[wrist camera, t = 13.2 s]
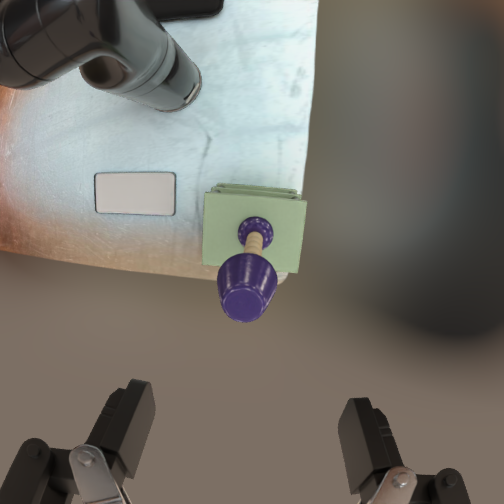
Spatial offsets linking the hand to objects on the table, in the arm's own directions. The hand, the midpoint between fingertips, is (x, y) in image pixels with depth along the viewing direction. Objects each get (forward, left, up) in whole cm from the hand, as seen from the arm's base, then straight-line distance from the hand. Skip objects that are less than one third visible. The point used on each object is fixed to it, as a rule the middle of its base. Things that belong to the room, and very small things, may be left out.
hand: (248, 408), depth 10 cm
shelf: (0, 0, -37) cm, 37 cm away
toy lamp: (0, 0, -26) cm, 26 cm away
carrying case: (-33, +23, -37) cm, 54 cm away
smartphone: (-18, -9, -37) cm, 42 cm away
